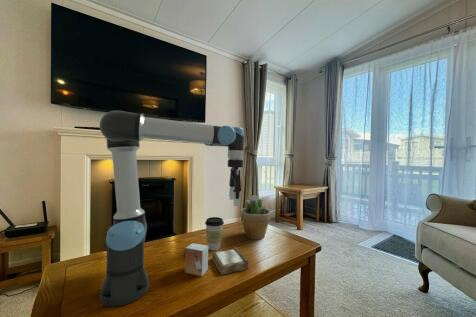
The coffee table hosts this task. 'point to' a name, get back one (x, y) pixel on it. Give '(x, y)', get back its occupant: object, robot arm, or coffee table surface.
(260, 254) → the coffee table surface
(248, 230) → the potted plant
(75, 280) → the coffee table surface
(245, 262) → the tray
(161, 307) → the coffee table surface
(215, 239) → the coffee cup
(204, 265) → the small box
